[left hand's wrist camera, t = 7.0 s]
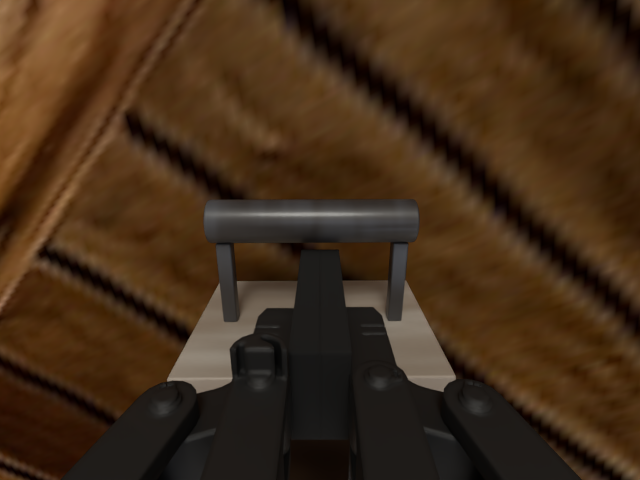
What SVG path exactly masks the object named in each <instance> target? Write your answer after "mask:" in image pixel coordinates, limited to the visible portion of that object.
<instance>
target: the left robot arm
mask: <svg viewBox="0 0 640 480" xmlns="http://www.w3.org/2000/svg"><path fill="white" fill-rule="evenodd" d="M230 359H231V369H232V381H231V382H230V383H228V384H226V385H224V386H222V387H219V388H216V389H213V390H209V391H205V392H200V393H197V392H196V389H195V388H194V387H193V385H192V384H190V383H187V382H185V381H168V382H164V383H160V384H158V385H156V386H154V387H152V388H149V389H148V390H147V391H146V392H144V393H143V394H142V395H141V396H139V398H138V399H137V400H136V401H135V402H134V403H133V404H132V405H131V406H130V407H129V408H128V409H127V410H126V411H125V412H124V413H123V414H122V415H121V417H120V418H119V419H118V420H117V421H116V422H115V423H114V424H113V425H112V426H111V427H110V428H109V429H108V430H107V431H106V432H105V433H104V434H103V436H102V437H101V438H100V439H99V440H98V441H97V442H96V443H95V444H94V445H93V446H92V447H91V448H90V449H89V450H88V451H87V452H86V453H85V454H84V456H83V457H82V458H81V459H80V460H79V461H78V462H77V463H76V464H75V465H74V466H73V467H72V468H71V469H70V470H69V471H68V472H67V473H66V475H65V476H64V477H63V478H62V479H61V480H289V476H290V463H291V450H290V441H291V440H350V450H349V477H348V480H582V479H581V478H580V477H579V476H578V475H577V474H576V473H575V472H574V471H573V470H572V469H571V468H570V467H569V466H568V465H567V464H566V463H565V462H564V461H563V460H562V458H561V457H560V456H559V455H558V454H557V453H556V452H555V451H554V450H553V449H552V448H551V447H550V446H549V445H548V444H547V443H546V442H545V441H544V440H543V439H542V438H541V436H540V435H539V434H538V433H537V432H536V431H535V430H534V429H533V428H532V427H531V426H530V425H529V424H528V423H527V422H526V421H525V420H524V419H523V418H522V417H521V416H520V414H519V413H518V412H517V411H516V410H515V409H514V408H513V407H512V406H511V405H510V404H509V403H508V402H507V401H506V400H505V399H504V398H503V397H502V396H501V395H500V394H499V393H498V392H497V391H495V390H494V389H493V388H492V387H490V386H488V385H486V384H484V383H481V382H479V381H475V380H470V379H457V380H454V381H452V382H449V383H448V384H447V385H446V387H445V388H444V392H442V391H437V390H433V389H429V388H425V387H422V386H419V385H417V384H415V383H413V382H411V381H409V380H408V378H407V376H406V374H405V373H404V371H403V370H402V369H401V368H399V367H398V366H397V364H396V361H395V358H394V354H393V351H392V347H391V344H390V341H389V337H388V335H387V331H386V327H385V324H384V321H383V317H382V315H381V314H380V313H379V312H378V311H377V310H376V309H375V308H374V307H346V304H345V296H344V288H343V280H342V273H341V265H340V257H339V250H301V257H300V265H299V273H298V280H297V288H296V296H295V304H294V308H266V309H265V310H264V311H263V312H262V313H261V314H260V315H259V316H258V319H257V322H256V325H255V329H254V332H253V334H249V335H247V336H244V337H241V338H240V339H238V340H237V341H236V342H234V343H233V345H232V346H231V348H230Z"/></svg>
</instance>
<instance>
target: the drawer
mask: <svg viewBox="0 0 640 480" xmlns="http://www.w3.org/2000/svg"><path fill="white" fill-rule="evenodd" d="M204 231H205V235H206V238H207V240H208V242H210V243H217V244H216V254H217V263H218V272H219V282H220V283H219V285H218V286H217V288H216V290H215V292H214V294H213V296H212V297H211V299H210V301H209V303H208V305H207V307H206V308H205V310H204V312H203V314H202V316H201V318H200V319H199V321H198V323H197V325H196V327H195V329H194V331H193V332H192V334H191V336H190V338H189V340H188V342H187V343H186V345H185V347H184V349H183V351H182V353H181V354H180V356H179V358H178V360H177V362H176V364H175V365H174V367H173V369H172V371H171V373H170V375H169V376H168V379H167V382H168V381H185V382H187V383H190V384H192V385H193V387H194V388H195V389H196V392H197V393H200V392H205V391H209V390H213V389H216V388H219V387H222V386H224V385H226V384H228V383H230V382H231V381H232V369H231V359H230V348H231V346H232V345H233V343H234V342H236V341H237V340H238V339H240V338H241V337H244V336H247V335H249V334H253V332H254V329H255V325H256V322H257V319H258V316H259V315H260V314H261V313H262V312H263V311H264V310H265V309H266V308H294V304H295V296H296V288H297V281H237V277H236V266H235V255H234V243H324V242H391V245H390V259H389V273H388V280H372V281H343V288H344V296H345V304H346V307H374V308H375V309H376V310H377V311H378V312H379V313H380V314H381V315H382V317H383V321H384V324H385V327H386V331H387V335H388V337H389V341H390V344H391V347H392V351H393V354H394V358H395V361H396V364H397V366H398V367H399V368H401V369H402V370H403V371H404V373H405V374H406V376H407V378H408V380H409V381H411V382H413V383H415V384H417V385H419V386H422V387H425V388H429V389H433V390H437V391H442V392H444V388H445V387H446V385H447V384H448V383H449V382H452V381H454V380H455V379H456V376H455V374H454V372H453V370H452V368H451V366H450V364H449V362H448V360H447V359H446V357H445V355H444V353H443V351H442V349H441V347H440V345H439V343H438V341H437V339H436V337H435V335H434V333H433V332H432V330H431V328H430V326H429V324H428V322H427V320H426V318H425V316H424V314H423V312H422V310H421V308H420V307H419V305H418V303H417V301H416V299H415V297H414V295H413V293H412V291H411V289H410V287H409V285H408V283H407V281H405V276H406V265H407V253H408V243H407V242H414V241H415V240H416V238H417V235H418V231H419V209H418V205H417V202H416V201H415V200H413V199H333V200H209V201H208V202H207V203H206V206H205V210H204ZM290 450H291V463H290V476H289V480H348V477H349V450H350V440H291V441H290Z"/></svg>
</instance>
